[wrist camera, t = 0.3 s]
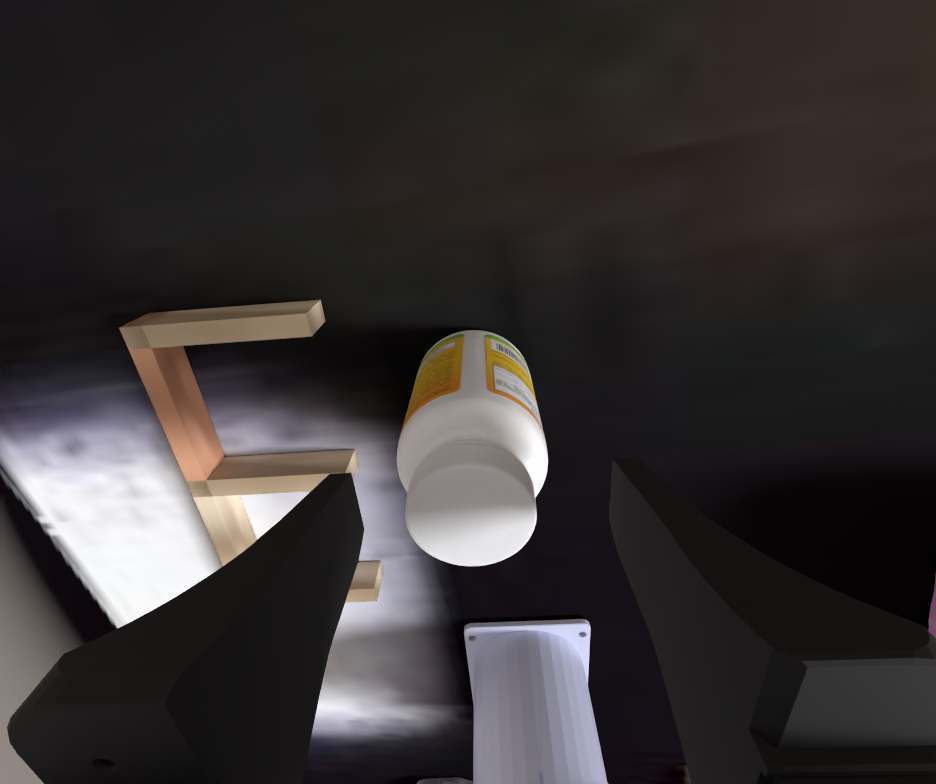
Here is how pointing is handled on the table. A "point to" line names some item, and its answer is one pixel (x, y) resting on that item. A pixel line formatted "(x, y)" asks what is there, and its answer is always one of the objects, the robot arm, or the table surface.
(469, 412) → the supplement bottle
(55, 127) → the table surface
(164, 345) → the e-shaped wooden frame
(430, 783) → the stone block
